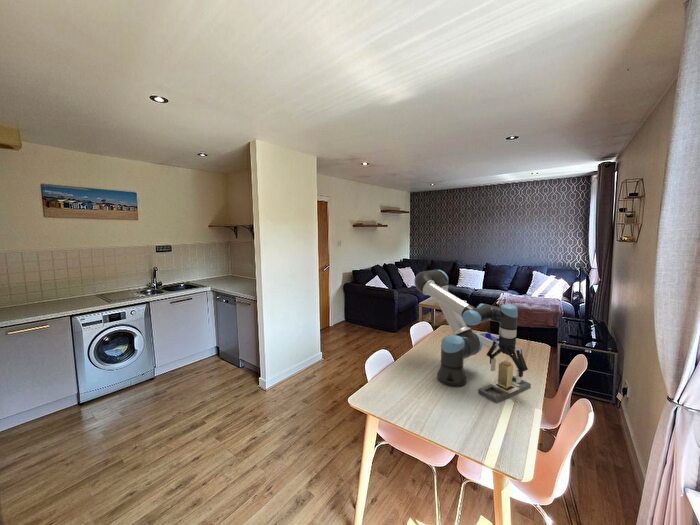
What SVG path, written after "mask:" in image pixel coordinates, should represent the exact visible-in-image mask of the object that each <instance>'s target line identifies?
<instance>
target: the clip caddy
mask: <svg viewBox="0 0 700 525" xmlns="http://www.w3.org/2000/svg"><path fill="white" fill-rule="evenodd" d="M475 333H476V334H478V335H479V336H480V338H481V340H482V345H483V346H486V347H488V348H489V349H490V348H491V347H492V345H493V341H496V340H497V338H499V336H496V335H494V334H492V333H490V334H491V338H492V340H493V341H492V340H490V339H487V338H485V337H486V333H488V331H482V332H478V333H477V332H475ZM498 342H499V341H498ZM498 349H500V348H499V346H497V347H496V348H495V350H498Z"/></svg>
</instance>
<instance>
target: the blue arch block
mask: <svg viewBox="0 0 700 525" xmlns="http://www.w3.org/2000/svg"><path fill="white" fill-rule="evenodd" d="M491 334H492V333H491V332H487V333H486V337H485V338H487V339H490V340H492V338H491ZM492 341H493V340H492ZM496 341H499V338H497V340H496Z"/></svg>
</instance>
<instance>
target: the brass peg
mask: <svg viewBox="0 0 700 525" xmlns="http://www.w3.org/2000/svg"><path fill="white" fill-rule="evenodd" d="M513 373H514V364H512V362H509V361H507V360H503V361H500V362H499V363H498V372H497V374H498V375H497V376H498V377H497V381H498V387H500V388H502V389H504V390H506V391H508V390H510V389H512V384H513V381H512V378H513V376H514V374H513Z"/></svg>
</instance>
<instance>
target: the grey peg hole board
mask: <svg viewBox="0 0 700 525" xmlns="http://www.w3.org/2000/svg"><path fill="white" fill-rule="evenodd" d="M512 382H514V383H516V376H514V375H513V378H512ZM514 383H512V389H510V390H508V391H506V390H504V389H502V388H500V387H498V380H497V381H494V382H492V383H490V384H489V385H486V386H483V387H481V388H478V389H477V390H478V391H477V393H478V394H479V395H480V396H482V397H484V398H486V399H488V400H490V401H491V402H493V403H495V404H499V403H500V402H503V401H506V400H507V399H509V398H510V397H513V396H515V395H517V394H520V393H522V392H524V391H526V390H528V389H531V388H532V387H531V386H532V384H531V383H530V382H528V381H525V380H523V379H521V382H519V383H517V384H519V385H516V384H514ZM491 391H493V392H494V393H496V394H498V395H496V396H495V395H494V394H492V393H490V392H491Z"/></svg>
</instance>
